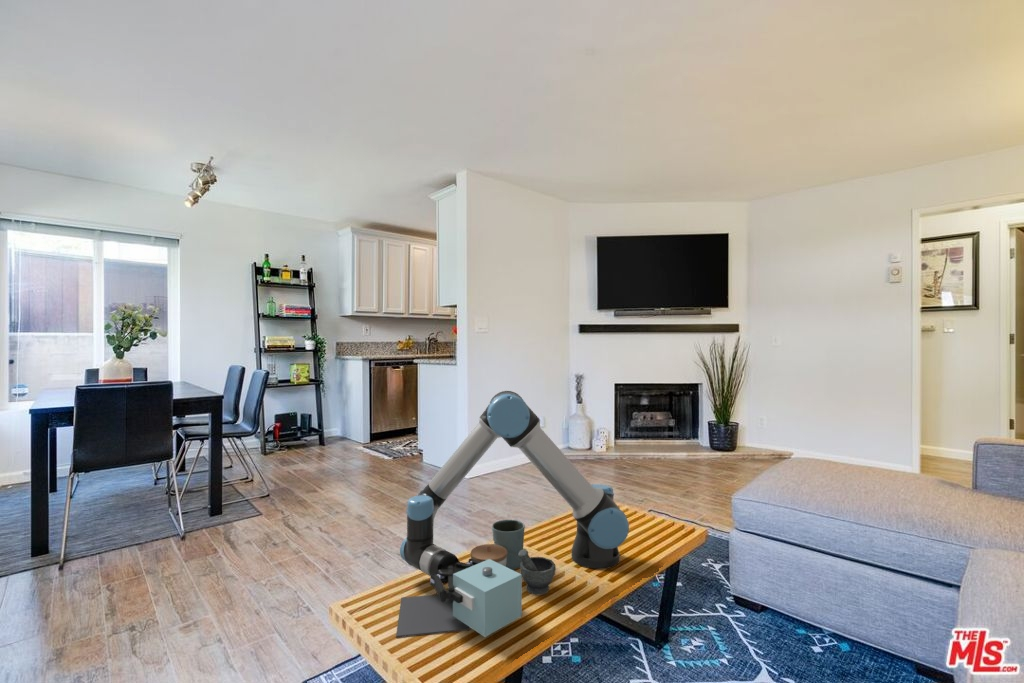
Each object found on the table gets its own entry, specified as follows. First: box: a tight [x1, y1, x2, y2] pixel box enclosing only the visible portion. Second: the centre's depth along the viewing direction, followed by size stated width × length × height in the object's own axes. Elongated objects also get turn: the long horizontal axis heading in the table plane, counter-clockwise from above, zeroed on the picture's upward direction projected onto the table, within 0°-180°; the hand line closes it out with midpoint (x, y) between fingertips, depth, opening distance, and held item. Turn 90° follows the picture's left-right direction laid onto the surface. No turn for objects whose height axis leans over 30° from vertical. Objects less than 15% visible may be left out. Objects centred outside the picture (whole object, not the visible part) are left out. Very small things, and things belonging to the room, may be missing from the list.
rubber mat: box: [395, 593, 471, 638], centre depth 117 cm, size 17×17×1 cm
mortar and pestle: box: [518, 548, 556, 596], centre depth 129 cm, size 11×9×12 cm
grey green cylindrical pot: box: [491, 519, 526, 571], centre depth 144 cm, size 10×10×12 cm
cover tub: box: [453, 559, 523, 638], centre depth 112 cm, size 12×12×11 cm
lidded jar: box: [470, 543, 507, 567], centre depth 135 cm, size 11×11×9 cm
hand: (493, 594), depth 111 cm, fingers closed on cover tub, 12 cm apart
